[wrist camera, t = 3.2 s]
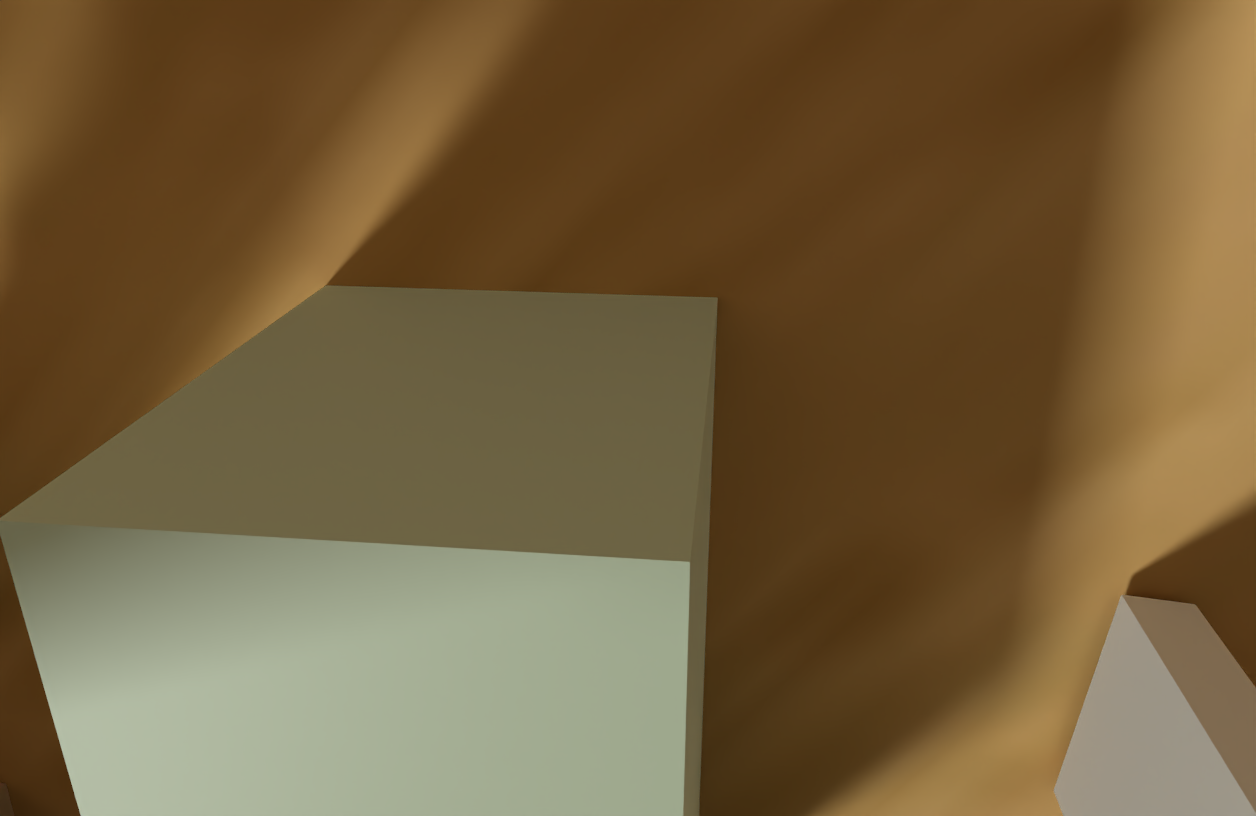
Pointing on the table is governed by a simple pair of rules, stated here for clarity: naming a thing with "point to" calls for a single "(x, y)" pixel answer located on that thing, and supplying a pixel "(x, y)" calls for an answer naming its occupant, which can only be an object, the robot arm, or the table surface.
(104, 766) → the sage block
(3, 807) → the walnut block
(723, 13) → the table surface
